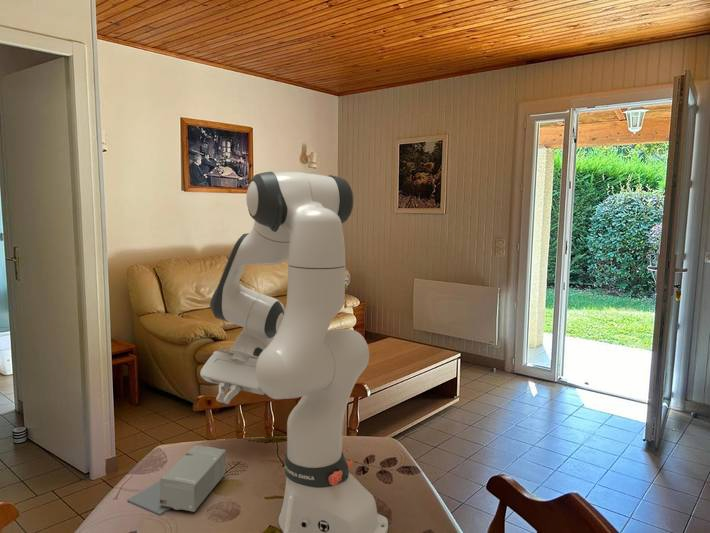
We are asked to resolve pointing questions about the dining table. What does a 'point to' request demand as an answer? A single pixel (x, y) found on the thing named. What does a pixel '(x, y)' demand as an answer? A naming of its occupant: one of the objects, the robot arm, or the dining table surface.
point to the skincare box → (192, 478)
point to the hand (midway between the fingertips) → (221, 402)
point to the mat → (150, 500)
